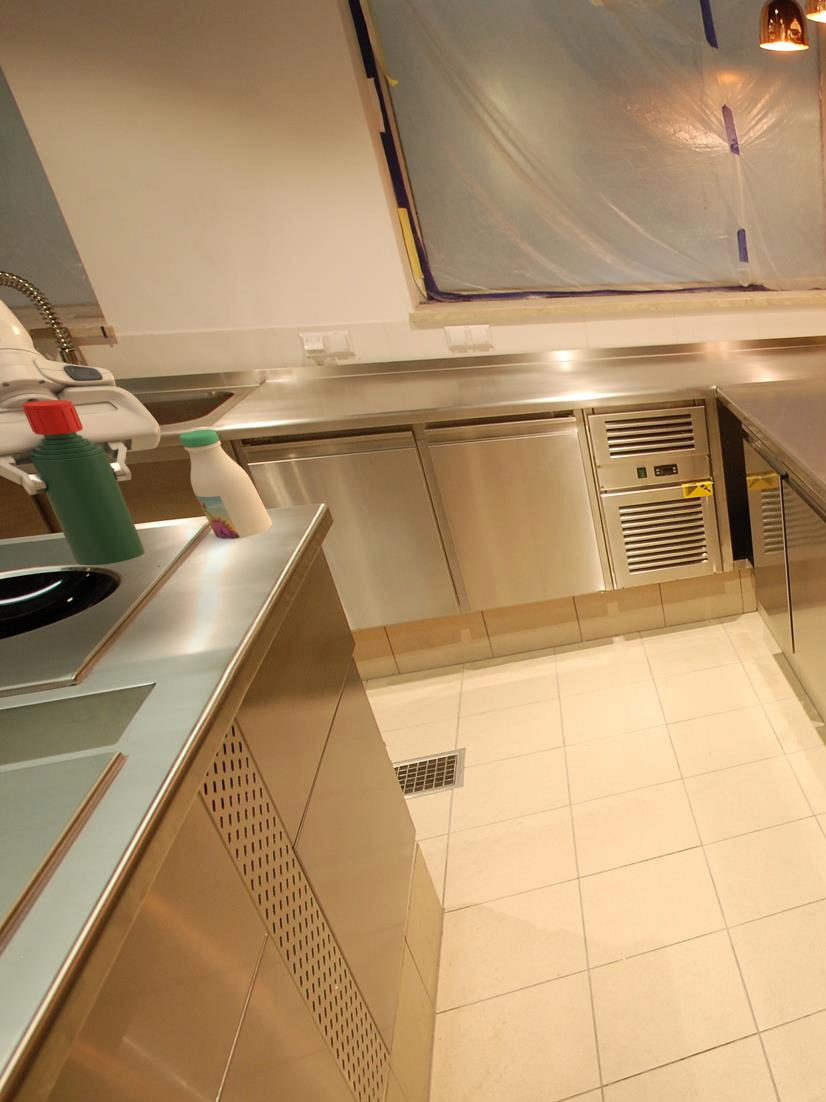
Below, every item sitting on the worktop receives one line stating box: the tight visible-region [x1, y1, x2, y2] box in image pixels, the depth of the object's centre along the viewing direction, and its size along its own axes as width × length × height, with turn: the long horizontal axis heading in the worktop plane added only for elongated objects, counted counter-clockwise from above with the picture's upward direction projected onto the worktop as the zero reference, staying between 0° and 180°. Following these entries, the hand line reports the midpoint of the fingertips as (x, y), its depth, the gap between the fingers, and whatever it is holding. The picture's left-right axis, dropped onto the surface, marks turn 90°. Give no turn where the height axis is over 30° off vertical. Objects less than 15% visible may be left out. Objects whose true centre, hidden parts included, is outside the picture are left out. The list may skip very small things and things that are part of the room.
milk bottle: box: [179, 429, 273, 540], centre depth 137 cm, size 8×8×20 cm
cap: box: [22, 400, 83, 435], centre depth 98 cm, size 4×4×3 cm
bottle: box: [31, 432, 146, 566], centre depth 102 cm, size 6×6×18 cm
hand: (83, 484), depth 101 cm, fingers closed on bottle, 6 cm apart
